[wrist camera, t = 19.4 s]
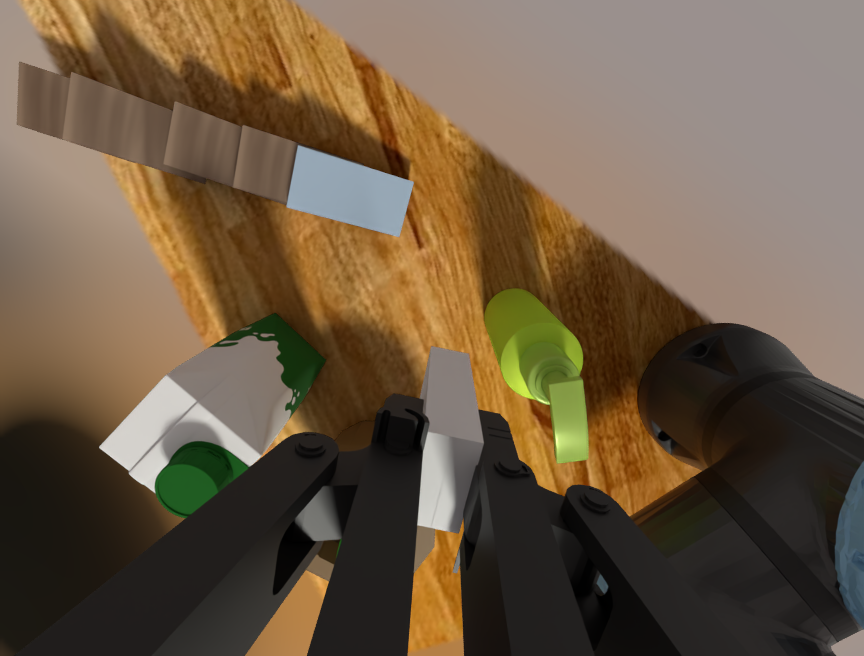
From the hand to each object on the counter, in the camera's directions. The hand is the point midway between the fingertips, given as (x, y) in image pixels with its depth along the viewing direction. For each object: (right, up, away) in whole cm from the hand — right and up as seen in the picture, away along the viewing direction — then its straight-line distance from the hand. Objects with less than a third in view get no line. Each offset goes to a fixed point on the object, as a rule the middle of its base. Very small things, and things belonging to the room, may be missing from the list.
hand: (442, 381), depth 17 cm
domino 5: (-3, +13, +23) cm, 26 cm away
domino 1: (-26, +19, +21) cm, 38 cm away
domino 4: (-7, +15, +23) cm, 28 cm away
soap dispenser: (+8, +3, +27) cm, 28 cm away
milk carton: (-16, -1, +28) cm, 33 cm away
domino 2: (-21, +18, +22) cm, 35 cm away
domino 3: (-13, +16, +22) cm, 30 cm away
